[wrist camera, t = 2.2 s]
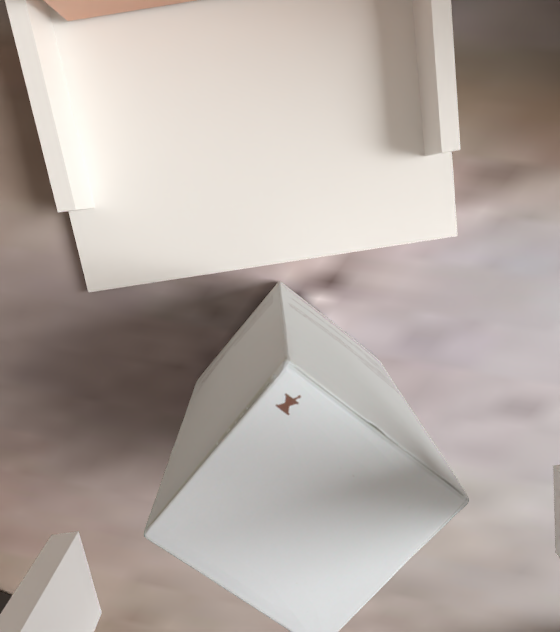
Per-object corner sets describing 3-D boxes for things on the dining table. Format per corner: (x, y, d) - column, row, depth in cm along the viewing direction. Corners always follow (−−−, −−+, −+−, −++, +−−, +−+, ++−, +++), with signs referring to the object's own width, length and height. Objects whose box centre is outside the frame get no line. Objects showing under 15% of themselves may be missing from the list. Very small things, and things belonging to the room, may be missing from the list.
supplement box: (191, 381, 27) (129, 535, 15) (280, 276, 26) (289, 351, 14) (296, 459, 29) (317, 660, 16) (385, 363, 27) (479, 501, 15)
